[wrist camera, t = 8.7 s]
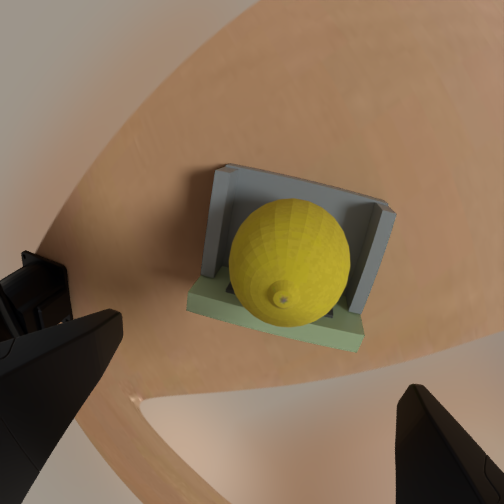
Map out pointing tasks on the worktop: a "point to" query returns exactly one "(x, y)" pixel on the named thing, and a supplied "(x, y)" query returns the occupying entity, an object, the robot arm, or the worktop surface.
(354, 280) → the miniature couch
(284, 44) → the worktop surface
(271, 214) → the lemon
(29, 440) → the robot arm
